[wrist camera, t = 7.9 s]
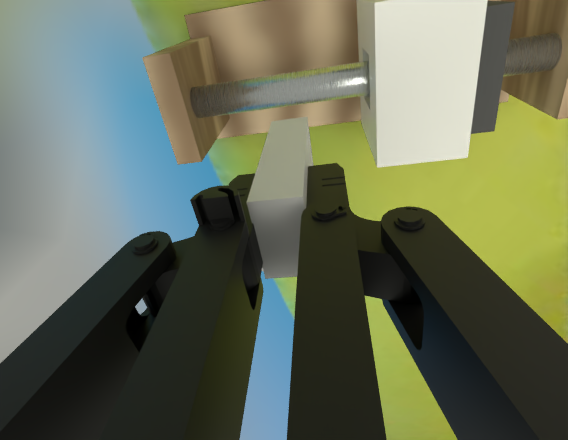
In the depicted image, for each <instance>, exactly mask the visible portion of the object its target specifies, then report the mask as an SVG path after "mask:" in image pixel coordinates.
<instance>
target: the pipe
mask: <svg viewBox="0 0 568 440" xmlns="http://www.w3.org/2000/svg"><path fill="white" fill-rule="evenodd" d="M561 52H562V41H561V38H560V36H559V35H558V34H557V33H549V34H542V35H536V36H529V37H522V38H516V39H509V44H508V50H507V56H506V62H505V68H504V75H503V77H505V76H512V75H519V74H527V73H534V72H541V71H549V70H552V69H553V68H555V66H556V65H557V64H558V62H559V60H560V57H561ZM366 95H370V79H369V61H362V62H356V63H349V64H342V65H336V66H329V67H322V68H316V69H309V70H302V71H296V72H289V73H282V74H276V75H269V76H263V77H256V78H249V79H243V80H236V81H229V82H223V83H216V84H209V85H203V86H196V87H192V88H191V90H190V101H191V106H192V109H193V112H194V114H195V115H196V117H197V118H205V117H212V116H220V115H227V114H234V113H242V112H249V111H256V110H264V109H271V108H278V107H286V106H293V105H300V104H307V103H315V102H322V101H329V100H337V99H344V98H351V97H359V96H366Z"/></svg>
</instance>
